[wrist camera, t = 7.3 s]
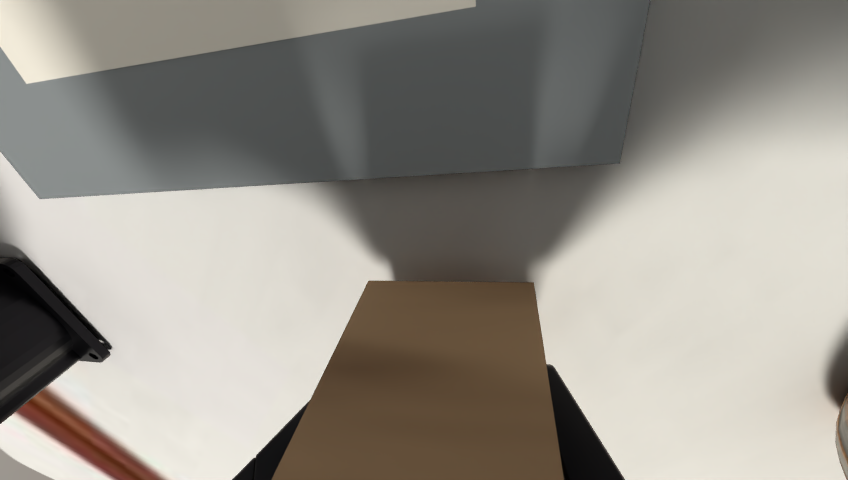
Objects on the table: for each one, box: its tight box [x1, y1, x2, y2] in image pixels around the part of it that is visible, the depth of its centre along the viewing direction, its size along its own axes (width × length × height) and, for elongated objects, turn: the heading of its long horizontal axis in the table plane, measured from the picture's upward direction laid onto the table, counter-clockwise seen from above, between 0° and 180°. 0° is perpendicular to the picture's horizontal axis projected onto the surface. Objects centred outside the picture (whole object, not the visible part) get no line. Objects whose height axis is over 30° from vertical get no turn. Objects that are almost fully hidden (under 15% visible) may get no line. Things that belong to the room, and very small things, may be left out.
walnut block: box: [272, 281, 564, 480], centre depth 8 cm, size 4×4×5 cm
